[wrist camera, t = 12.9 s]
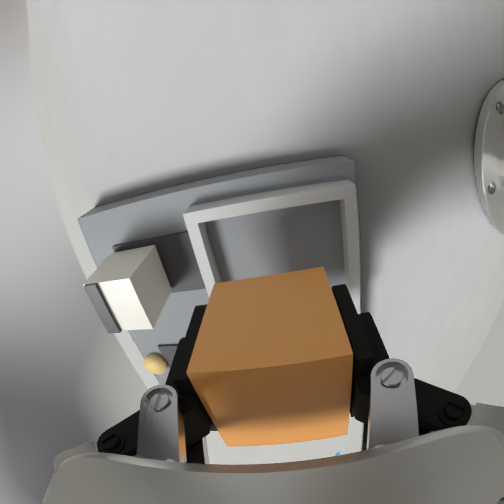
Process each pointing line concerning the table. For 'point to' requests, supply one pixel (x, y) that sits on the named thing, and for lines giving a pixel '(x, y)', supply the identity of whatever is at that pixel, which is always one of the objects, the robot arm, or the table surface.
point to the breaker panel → (234, 237)
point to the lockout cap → (274, 360)
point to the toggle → (129, 289)
